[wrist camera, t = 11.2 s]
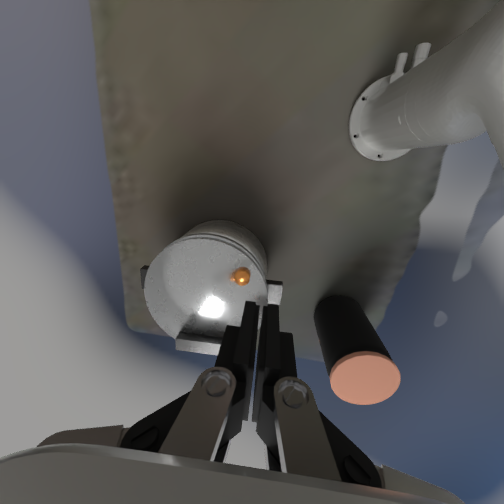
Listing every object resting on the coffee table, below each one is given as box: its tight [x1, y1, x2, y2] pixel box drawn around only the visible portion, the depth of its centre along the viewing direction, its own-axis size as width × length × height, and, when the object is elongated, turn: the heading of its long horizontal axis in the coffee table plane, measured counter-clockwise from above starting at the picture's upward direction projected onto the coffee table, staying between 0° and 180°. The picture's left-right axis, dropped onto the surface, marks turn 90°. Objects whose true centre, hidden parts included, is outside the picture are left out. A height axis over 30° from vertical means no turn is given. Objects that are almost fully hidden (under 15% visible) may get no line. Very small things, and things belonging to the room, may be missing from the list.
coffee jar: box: [314, 296, 400, 405], centre depth 46 cm, size 11×11×18 cm
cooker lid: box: [144, 237, 268, 355], centre depth 39 cm, size 21×21×3 cm
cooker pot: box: [140, 220, 283, 305], centre depth 46 cm, size 21×26×12 cm
